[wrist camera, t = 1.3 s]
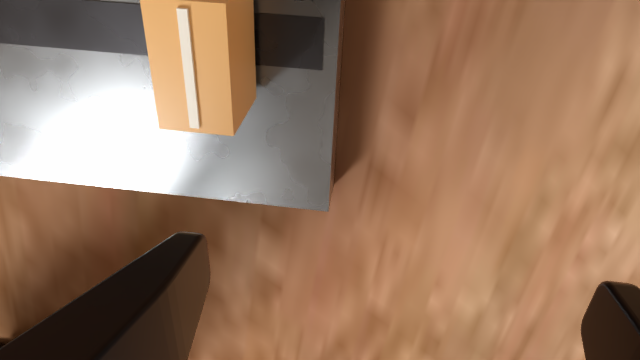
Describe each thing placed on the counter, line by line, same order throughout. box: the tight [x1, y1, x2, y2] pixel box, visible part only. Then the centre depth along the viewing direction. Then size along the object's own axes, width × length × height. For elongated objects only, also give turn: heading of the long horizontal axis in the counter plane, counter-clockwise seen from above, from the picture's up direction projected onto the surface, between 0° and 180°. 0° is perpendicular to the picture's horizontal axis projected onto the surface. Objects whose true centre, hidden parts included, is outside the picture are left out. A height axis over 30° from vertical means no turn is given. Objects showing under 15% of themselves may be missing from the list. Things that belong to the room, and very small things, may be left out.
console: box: [0, 0, 345, 211], centre depth 19 cm, size 14×24×3 cm, turn 88°
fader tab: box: [140, 0, 256, 136], centre depth 16 cm, size 4×2×3 cm, turn 178°
